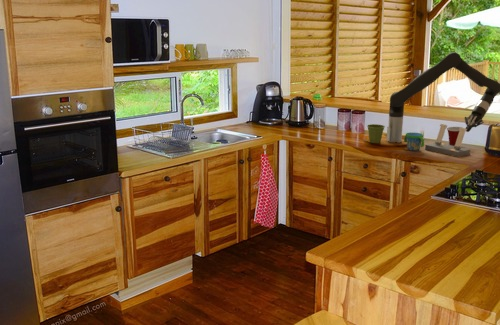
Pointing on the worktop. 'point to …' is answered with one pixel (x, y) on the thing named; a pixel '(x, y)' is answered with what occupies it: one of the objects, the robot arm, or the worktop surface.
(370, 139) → the plant pot
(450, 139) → the plastic cup
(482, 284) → the worktop surface
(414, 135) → the snack cup
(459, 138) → the outer lever
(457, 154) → the switch base
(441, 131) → the inner lever
